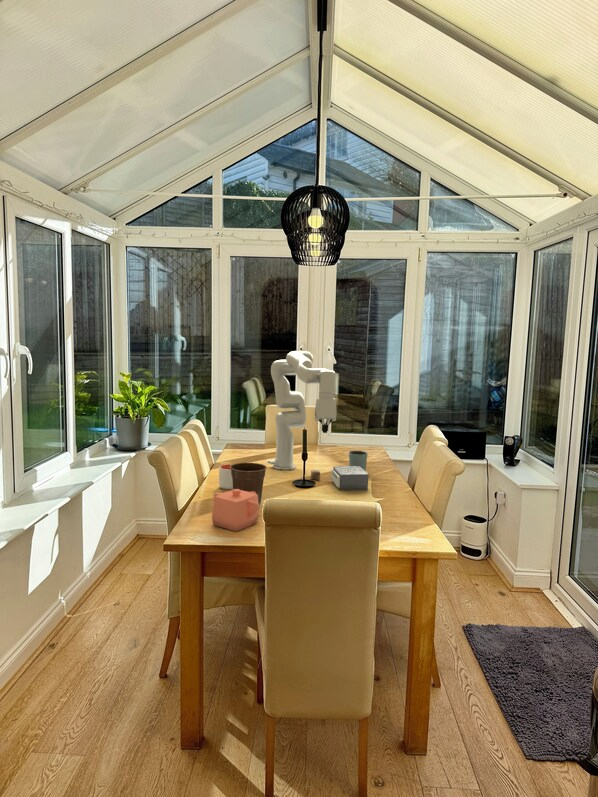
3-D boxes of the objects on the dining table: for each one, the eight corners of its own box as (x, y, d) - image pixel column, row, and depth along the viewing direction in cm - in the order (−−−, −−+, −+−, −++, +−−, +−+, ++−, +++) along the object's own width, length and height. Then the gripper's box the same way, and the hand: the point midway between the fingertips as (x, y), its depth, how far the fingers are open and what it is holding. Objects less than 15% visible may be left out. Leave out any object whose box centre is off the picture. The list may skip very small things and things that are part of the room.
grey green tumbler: (365, 477, 291) (366, 455, 289) (346, 475, 293) (347, 453, 291) (367, 472, 301) (368, 451, 299) (348, 470, 303) (349, 449, 301)
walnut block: (312, 479, 281) (312, 472, 281) (310, 477, 285) (311, 470, 285) (319, 479, 282) (320, 472, 282) (318, 477, 286) (318, 470, 286)
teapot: (246, 536, 202) (247, 500, 201) (201, 523, 214) (202, 489, 212) (276, 521, 219) (277, 487, 218) (233, 510, 231) (234, 478, 229)
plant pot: (241, 494, 253) (242, 460, 251) (272, 500, 246) (273, 465, 244) (221, 503, 238) (222, 467, 236) (253, 510, 231) (254, 473, 229)
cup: (222, 491, 257) (223, 470, 255) (216, 485, 265) (216, 465, 264) (242, 489, 261) (243, 468, 260) (235, 483, 270) (235, 463, 269)
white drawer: (337, 487, 265) (338, 476, 264) (330, 479, 279) (331, 468, 279) (364, 487, 267) (364, 476, 266) (356, 478, 282) (356, 468, 281)
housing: (340, 490, 265) (340, 474, 264) (332, 481, 280) (333, 466, 279) (367, 490, 267) (368, 474, 266) (358, 481, 283) (359, 466, 282)
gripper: (339, 394, 270) (337, 431, 273) (310, 394, 268) (308, 431, 270) (343, 396, 263) (341, 434, 265) (312, 396, 261) (311, 433, 263)
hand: (324, 432), depth 268 cm, fingers closed
